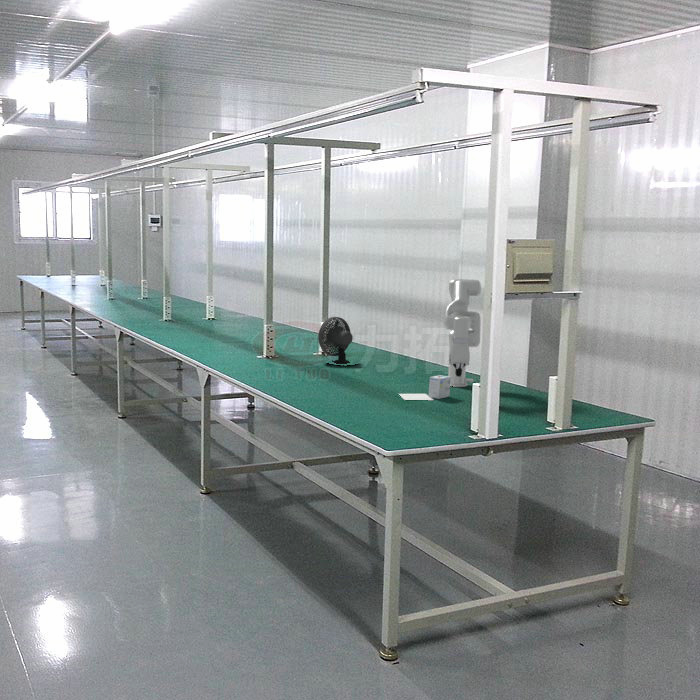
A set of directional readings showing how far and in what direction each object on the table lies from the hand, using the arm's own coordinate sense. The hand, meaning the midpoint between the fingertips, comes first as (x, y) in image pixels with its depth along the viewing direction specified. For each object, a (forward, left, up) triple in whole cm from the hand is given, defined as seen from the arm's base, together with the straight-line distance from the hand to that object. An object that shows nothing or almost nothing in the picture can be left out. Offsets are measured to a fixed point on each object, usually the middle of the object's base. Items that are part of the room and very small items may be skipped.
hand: (458, 376), depth 395 cm
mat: (+22, -1, -11) cm, 25 cm away
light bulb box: (+10, -1, -11) cm, 15 cm away
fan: (+46, -112, -12) cm, 121 cm away
